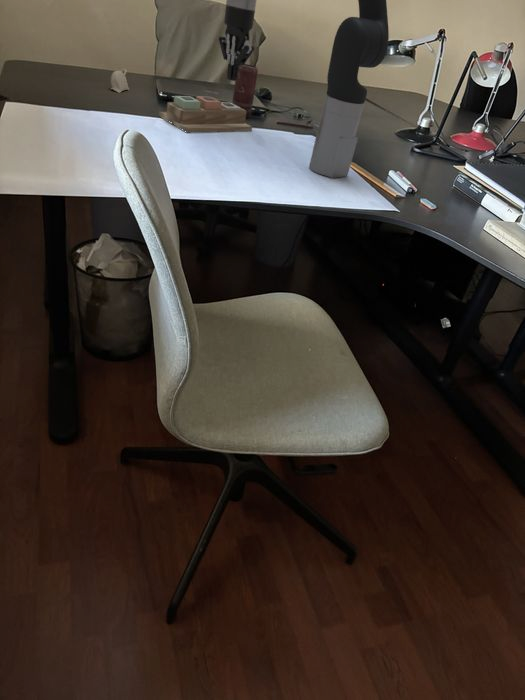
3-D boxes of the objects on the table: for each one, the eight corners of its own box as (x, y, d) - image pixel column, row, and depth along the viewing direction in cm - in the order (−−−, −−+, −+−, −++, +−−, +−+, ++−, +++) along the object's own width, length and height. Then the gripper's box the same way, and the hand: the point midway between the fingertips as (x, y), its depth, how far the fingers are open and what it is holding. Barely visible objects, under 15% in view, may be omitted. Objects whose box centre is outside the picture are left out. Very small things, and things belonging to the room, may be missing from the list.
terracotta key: (220, 111, 144) (221, 101, 142) (205, 111, 141) (206, 100, 139) (210, 106, 146) (211, 95, 145) (195, 106, 143) (196, 95, 142)
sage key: (199, 111, 139) (200, 100, 138) (183, 111, 137) (184, 100, 135) (189, 106, 142) (190, 95, 141) (173, 105, 139) (174, 95, 138)
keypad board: (251, 131, 149) (254, 114, 146) (186, 133, 135) (188, 114, 133) (223, 115, 156) (225, 100, 154) (158, 116, 143) (159, 98, 140)
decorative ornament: (106, 90, 156) (106, 70, 153) (120, 86, 162) (120, 67, 159) (118, 93, 155) (119, 73, 152) (132, 89, 162) (132, 70, 159)
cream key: (239, 116, 149) (240, 106, 147) (225, 117, 146) (226, 106, 144) (229, 111, 151) (230, 101, 150) (215, 111, 148) (216, 101, 147)
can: (248, 120, 158) (256, 69, 149) (228, 115, 158) (235, 64, 150) (253, 116, 163) (261, 67, 154) (233, 111, 163) (240, 62, 155)
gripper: (268, 12, 131) (256, 86, 141) (236, 3, 139) (227, 74, 149) (245, 8, 127) (235, 85, 137) (213, -1, 134) (206, 73, 144)
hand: (231, 79), depth 143 cm, fingers closed
